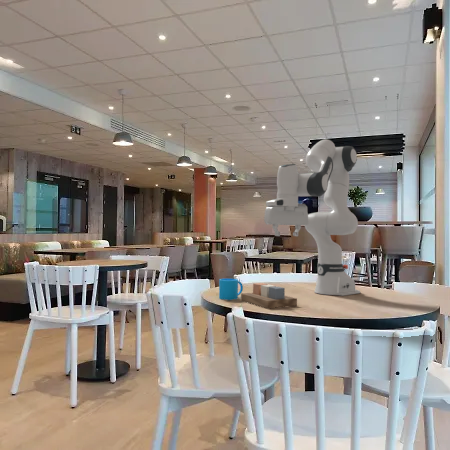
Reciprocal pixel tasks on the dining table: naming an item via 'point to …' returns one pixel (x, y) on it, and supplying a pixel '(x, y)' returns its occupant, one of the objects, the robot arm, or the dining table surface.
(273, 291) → the blue-grey cube
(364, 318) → the dining table surface
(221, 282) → the mug
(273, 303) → the wooden pallet
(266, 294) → the cream cube
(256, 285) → the terracotta cube
